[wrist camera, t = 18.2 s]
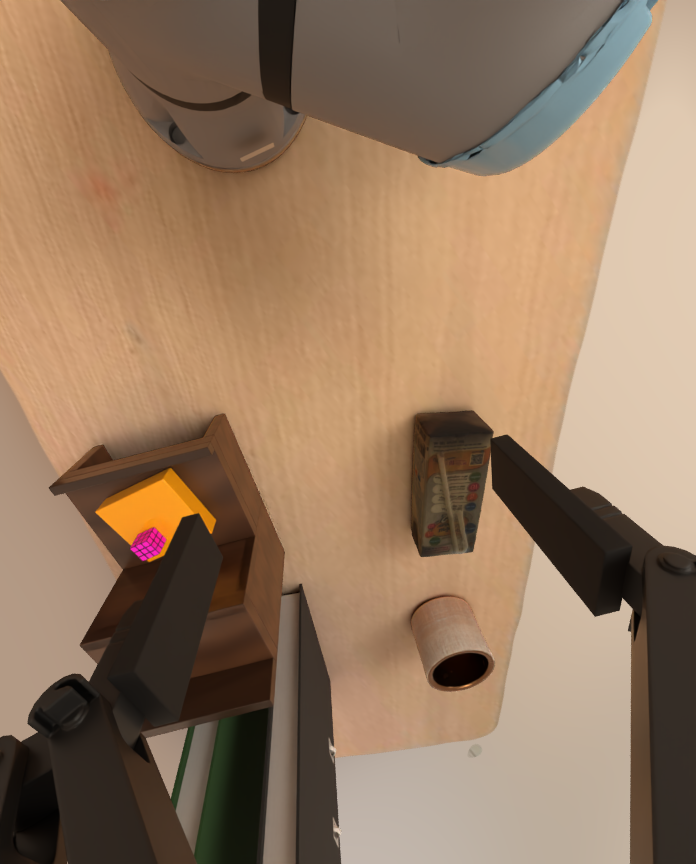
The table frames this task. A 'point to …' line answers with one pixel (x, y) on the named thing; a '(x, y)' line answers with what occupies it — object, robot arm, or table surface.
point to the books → (267, 766)
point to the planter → (451, 644)
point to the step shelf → (237, 580)
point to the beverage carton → (448, 481)
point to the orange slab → (152, 513)
